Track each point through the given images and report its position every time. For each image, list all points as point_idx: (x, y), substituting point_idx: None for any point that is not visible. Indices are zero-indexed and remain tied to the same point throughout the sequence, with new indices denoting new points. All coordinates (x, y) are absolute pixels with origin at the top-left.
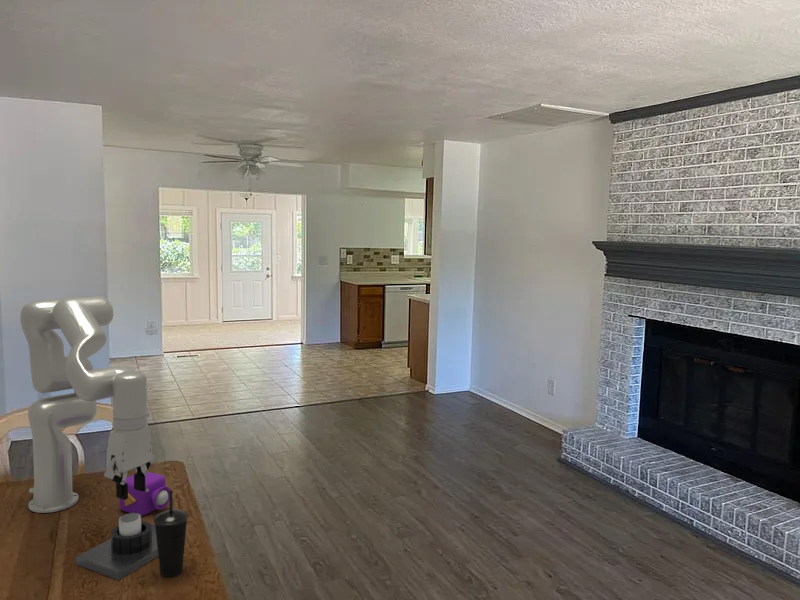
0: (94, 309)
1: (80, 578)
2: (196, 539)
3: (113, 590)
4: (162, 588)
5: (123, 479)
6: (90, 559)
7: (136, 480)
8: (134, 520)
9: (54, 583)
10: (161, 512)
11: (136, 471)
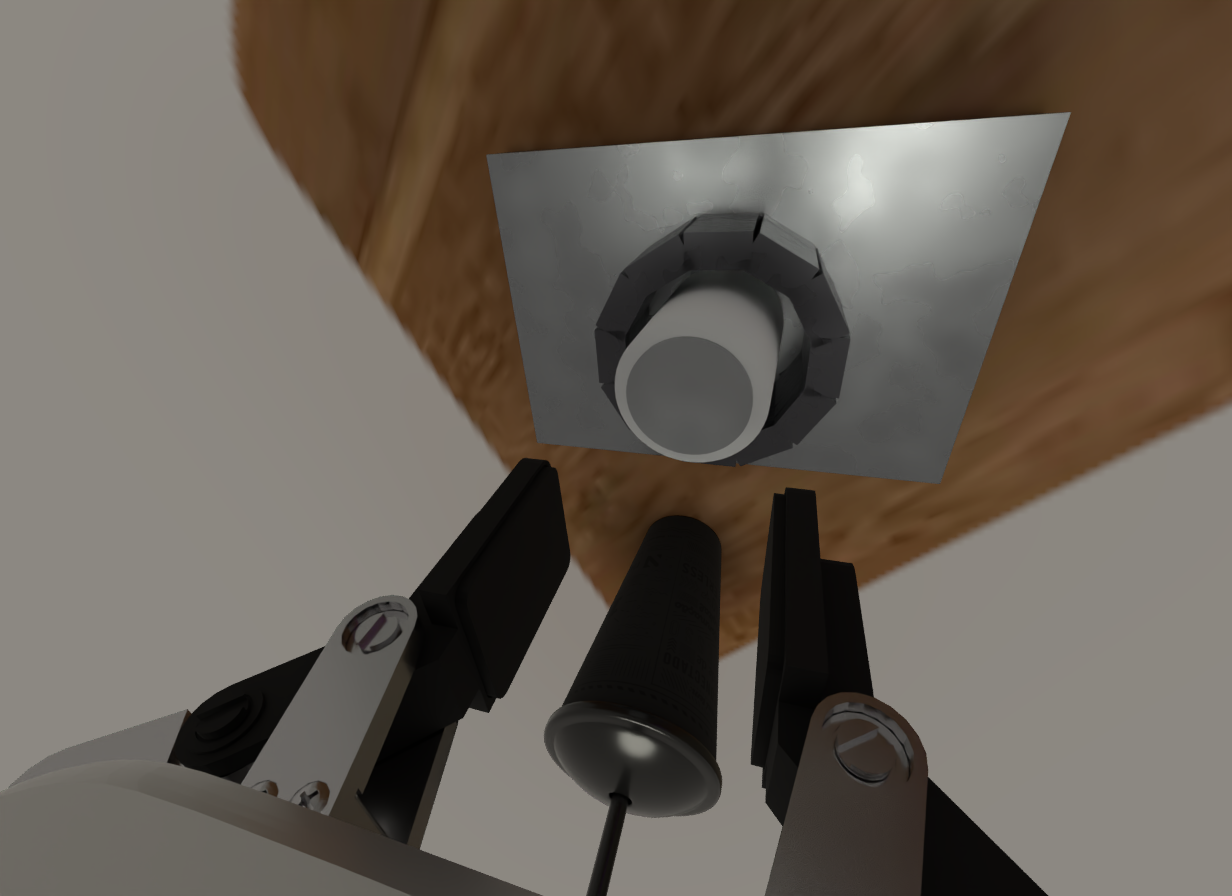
0: None
1: (470, 284)
2: (971, 503)
3: (508, 450)
4: (601, 564)
5: (397, 766)
6: (519, 253)
7: (765, 620)
8: (678, 447)
9: (388, 217)
10: (637, 725)
11: (804, 744)
